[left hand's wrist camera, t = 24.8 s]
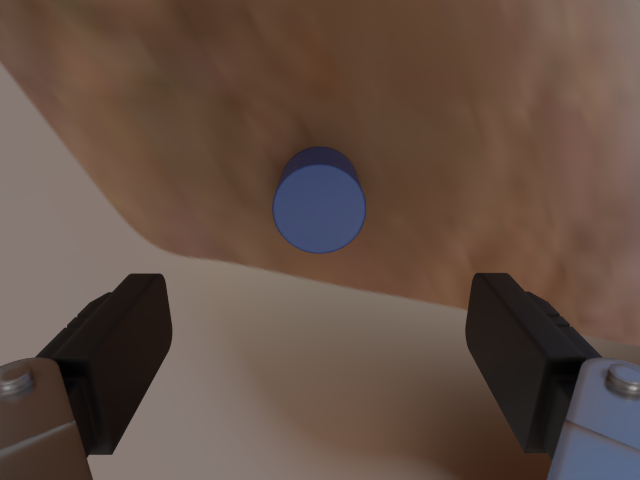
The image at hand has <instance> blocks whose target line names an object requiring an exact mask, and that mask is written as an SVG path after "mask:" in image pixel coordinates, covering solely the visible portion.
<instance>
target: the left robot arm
mask: <svg viewBox="0 0 640 480" xmlns="http://www.w3.org/2000/svg"><path fill="white" fill-rule="evenodd" d="M465 332H466V341H467V346H468V349H469V351H470V353H471V355H472V356H473V358H474V360H475V362H476V364H477V366H478V368H479V369H480V371H481V373H482V375H483V377H484V379H485V381H486V382H487V384H488V386H489V388H490V390H491V392H492V394H493V395H494V397H495V399H496V401H497V403H498V405H499V407H500V408H501V410H502V412H503V414H504V416H505V418H506V420H507V421H508V423H509V425H510V427H511V429H512V431H513V433H514V434H515V436H516V438H517V440H518V442H519V444H520V446H521V447H522V449H523V451H524V453H548V455H549V457H550V458H551V460H552V465H551V468H550V471H549V475H548V478H547V480H640V367H639V366H637V365H635V364H632V363H629V362H626V361H622V360H618V359H613V358H603V357H602V356H601V355H600V354H599V353H598V352H597V351H596V350H595V349H594V348H593V347H592V346H591V345H590V344H589V343H588V342H587V341H586V340H585V339H584V338H583V337H582V336H581V335H580V334H579V333H578V332H577V331H576V330H575V329H574V328H573V327H570V324H569V323H568V322H567V321H566V320H565V319H564V318H563V317H562V316H559V313H558V312H557V311H556V310H555V309H554V308H553V307H552V306H551V305H550V304H549V303H548V302H547V301H545V300H543V299H541V298H540V297H538V296H536V295H534V294H532V293H531V292H525V291H524V290H523V289H522V288H521V287H520V286H519V285H518V284H517V283H516V281H515V280H514V279H513V278H512V277H511V276H510V275H509V274H507V273H476V274H475V275H474V277H473V280H472V286H471V292H470V299H469V306H468V313H467V320H466V329H465ZM171 341H172V322H171V315H170V309H169V302H168V295H167V289H166V282H165V279H164V277H163V275H162V274H129V275H128V276H127V277H126V278H125V279H124V280H123V281H122V282H121V284H120V285H119V286H118V287H117V288H116V289H115V290H114V291H113V292H108V293H106V294H104V295H103V296H101V297H99V298H97V299H95V300H94V301H92V302H90V303H89V304H88V305H87V306H86V307H85V308H84V309H83V310H82V311H81V312H80V313H79V314H78V316H77V317H75V318H74V319H73V320H72V321H71V322H70V323H69V324H68V325H67V328H64V329H63V330H62V331H61V332H60V333H59V334H58V335H57V336H56V337H55V338H54V339H53V340H52V341H51V342H50V343H49V344H48V345H47V346H46V347H45V348H44V349H43V350H42V351H41V352H40V353H39V354H38V355H37V356H36V357H35V358H27V359H22V360H18V361H14V362H11V363H8V364H5V365H3V366H0V480H93V478H92V475H91V471H90V468H89V465H88V461H87V457H88V455H112V454H113V452H114V450H115V448H116V447H117V445H118V443H119V441H120V439H121V437H122V436H123V434H124V432H125V430H126V428H127V426H128V424H129V423H130V421H131V419H132V417H133V415H134V414H135V412H136V410H137V408H138V406H139V404H140V402H141V401H142V399H143V397H144V395H145V393H146V391H147V390H148V388H149V386H150V384H151V382H152V380H153V379H154V377H155V375H156V373H157V371H158V369H159V368H160V366H161V364H162V362H163V360H164V358H165V357H166V355H167V353H168V351H169V349H170V345H171Z"/></svg>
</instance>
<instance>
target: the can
mask: <svg viewBox="0 0 640 480" xmlns="http://www.w3.org/2000/svg"><path fill="white" fill-rule="evenodd" d="M272 209H273V218H274V221H275V225H276V227H277V229H278V231H279V232H280V234H281V235H282V236H283V237H284V239H285V240H287V241H288V242H289V243H290V244H291V245H293V246H294V247H296V248H298V249H300V250H303V251H306V252H310V253H329V252H333V251H336V250H338V249H341V248H342V247H344V246H346V245H347V244H349V243H350V242H351V241H352V240H353V239H354V238H355V237H356V236H357V235H358V233H359V232H360V230H361V228H362V226H363V224H364V220H365V216H366V201H365V197H364V194H363V191H362V188H361V185H360V182H359V180H358V177H357V174H356V172H355V169H354V167H353V165H352V164H351V162H350V161H349V160H348V159H347V158H346V157H345V156H344V155H343V154H341V153H340V152H338V151H336V150H333V149H330V148H326V147H313V148H309V149H305V150H303V151H301V152H299V153H298V154H296V155H295V156H294V157H293V158H292V159H291V160H290V161H289V162H288V164H287V165H286V167H285V169H284V171H283V174H282V177H281V179H280V182H279V185H278V187H277V190H276V193H275V195H274V199H273V207H272Z"/></svg>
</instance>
